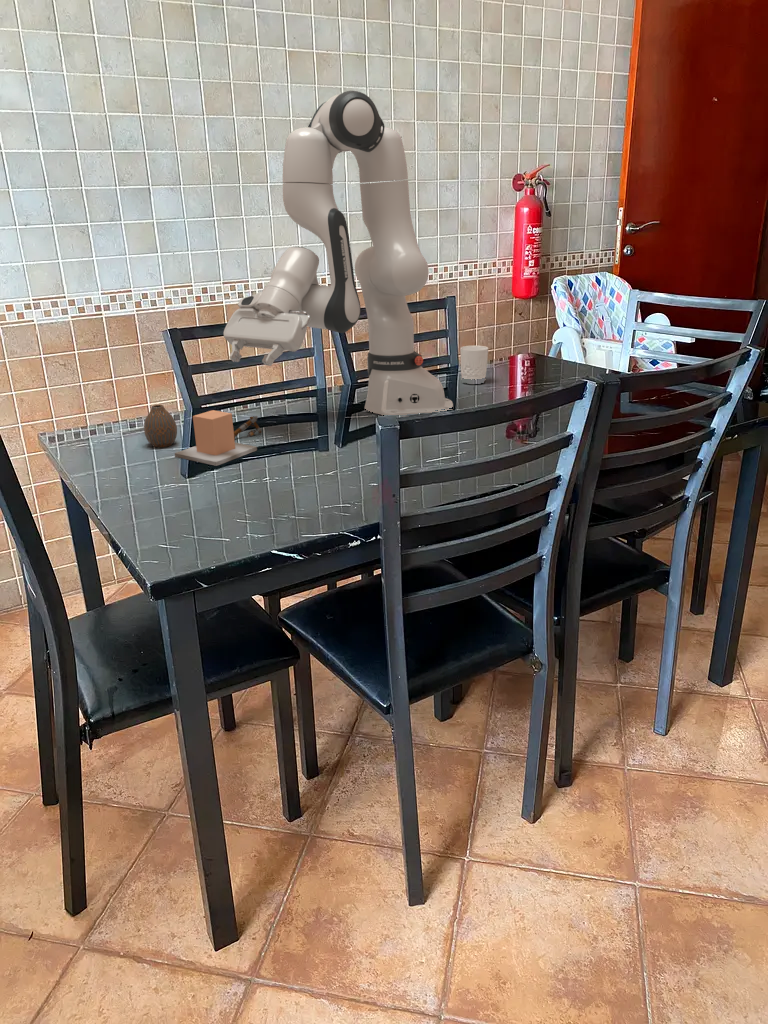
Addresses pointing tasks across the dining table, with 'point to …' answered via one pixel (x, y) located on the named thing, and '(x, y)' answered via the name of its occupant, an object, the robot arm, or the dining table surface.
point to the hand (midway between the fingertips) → (249, 362)
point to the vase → (160, 427)
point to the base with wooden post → (216, 459)
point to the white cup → (474, 362)
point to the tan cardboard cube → (214, 432)
